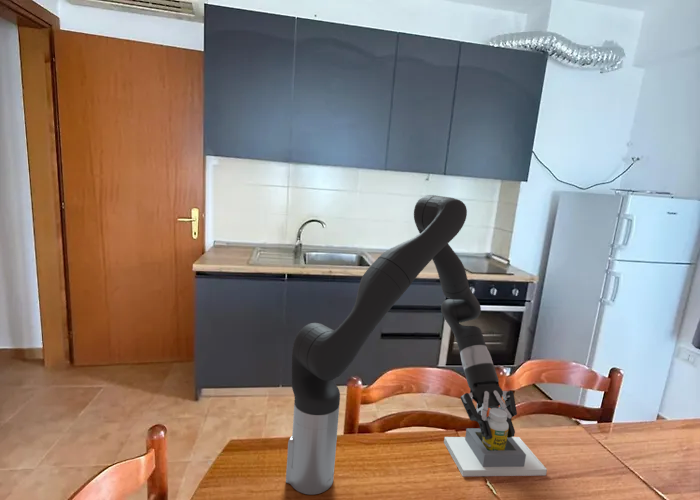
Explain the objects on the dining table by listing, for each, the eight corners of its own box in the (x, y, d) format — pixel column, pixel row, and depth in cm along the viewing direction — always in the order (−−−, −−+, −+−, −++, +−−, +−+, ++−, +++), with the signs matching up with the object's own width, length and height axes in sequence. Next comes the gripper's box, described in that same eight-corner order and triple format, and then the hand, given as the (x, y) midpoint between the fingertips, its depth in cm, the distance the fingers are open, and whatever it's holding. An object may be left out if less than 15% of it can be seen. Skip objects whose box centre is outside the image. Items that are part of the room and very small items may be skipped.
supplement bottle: (494, 440, 100) (499, 404, 98) (509, 454, 95) (515, 417, 93) (476, 443, 98) (481, 407, 96) (491, 458, 93) (497, 420, 91)
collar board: (462, 476, 89) (465, 458, 89) (443, 442, 101) (445, 426, 100) (545, 475, 92) (549, 457, 91) (518, 442, 104) (520, 426, 103)
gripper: (460, 362, 99) (481, 437, 89) (510, 360, 102) (535, 432, 93) (447, 372, 104) (465, 444, 95) (495, 370, 108) (517, 438, 99)
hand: (500, 437), depth 94 cm, fingers closed on supplement bottle, 5 cm apart
